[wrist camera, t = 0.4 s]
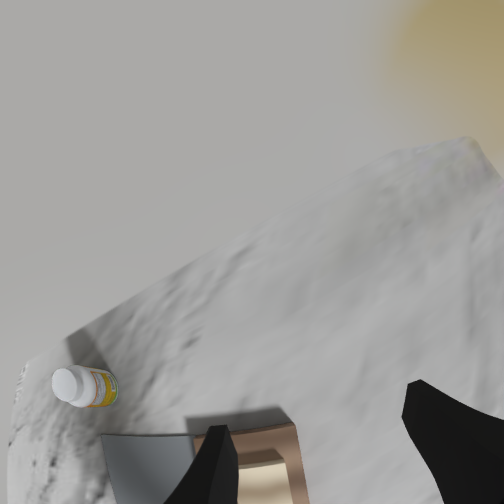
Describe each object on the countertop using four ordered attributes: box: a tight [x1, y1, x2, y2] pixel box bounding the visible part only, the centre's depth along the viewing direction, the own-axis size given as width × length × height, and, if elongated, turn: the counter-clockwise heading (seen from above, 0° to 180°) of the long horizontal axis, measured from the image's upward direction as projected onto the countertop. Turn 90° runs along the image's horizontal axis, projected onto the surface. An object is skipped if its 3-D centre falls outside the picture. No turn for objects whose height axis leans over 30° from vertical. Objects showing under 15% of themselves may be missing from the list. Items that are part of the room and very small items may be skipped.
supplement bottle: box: [52, 365, 118, 407], centre depth 29 cm, size 5×5×10 cm
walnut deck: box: [193, 422, 310, 504], centre depth 27 cm, size 16×12×3 cm
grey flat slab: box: [101, 434, 196, 504], centre depth 27 cm, size 16×14×1 cm
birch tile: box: [237, 459, 293, 504], centre depth 24 cm, size 8×6×2 cm
